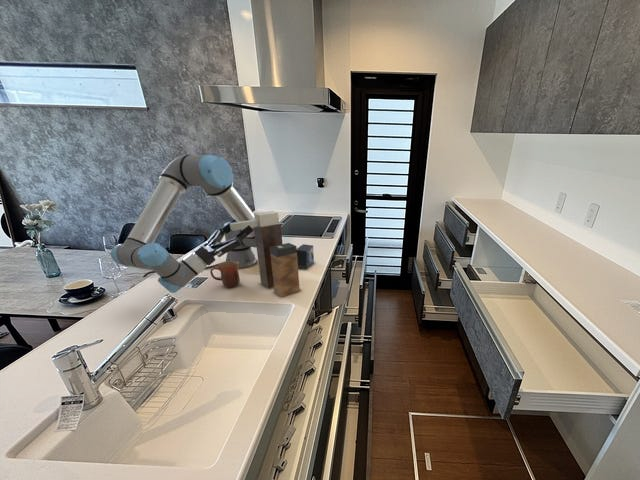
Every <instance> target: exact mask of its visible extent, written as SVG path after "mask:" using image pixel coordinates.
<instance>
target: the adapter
mask: <svg viewBox="0 0 640 480" xmlns="http://www.w3.org/2000/svg"><path fill="white" fill-rule="evenodd" d="M297 248H298V247H297V245H295V244H293V243H290V242H286V243H282V244H281V245H276V246H271V247H270V254H272V255H274V256H276V257H281V256H285V255H289V254H293V253H297Z"/></svg>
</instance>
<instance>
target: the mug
mask: <svg viewBox="0 0 640 480" xmlns="http://www.w3.org/2000/svg"><path fill="white" fill-rule="evenodd" d="M225 261H226V260H225ZM225 261H222V262H219V263H217V264H218V265H217V266H215V267H212V268H210V270H209V273H210V276H211V278H212V279H214V280H216V281H220V282H221V283H222V285H223V287H224V288H228V289H231V288H235V287H237V286H239V285H240V284H241V281H240V280H241V278H240V273H239V268H238V266H239V263H238V262H237V261H226V262H225ZM214 270H217V271H219V273H220V277H216V276H215V275H214V272H213V271H214Z"/></svg>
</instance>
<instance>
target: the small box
mask: <svg viewBox="0 0 640 480" xmlns="http://www.w3.org/2000/svg"><path fill="white" fill-rule="evenodd" d="M296 248H297V261H298V270H308V269H309V268H311V266H313V265H314V264H315V253H314V252H315V251H314V245H312V244H304V243H303V244H302V245H299V247H296Z"/></svg>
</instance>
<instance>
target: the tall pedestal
mask: <svg viewBox="0 0 640 480" xmlns="http://www.w3.org/2000/svg"><path fill="white" fill-rule="evenodd" d="M254 232H255V240H256V248H255V249H256V254H257V255H256V256H257V262H258V270H259V277H260V278H259V279H260V284H261V285H262V286H264V287H266V288H267V289H271V288H274V282H273V273H272V264H271V255H270V247H271V246H276V245H281V244H283V235H282V234H283V233H282V225H281V224H280V223H279V224H276V225H270V226H264V227H260V226H259V227H254Z"/></svg>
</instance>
